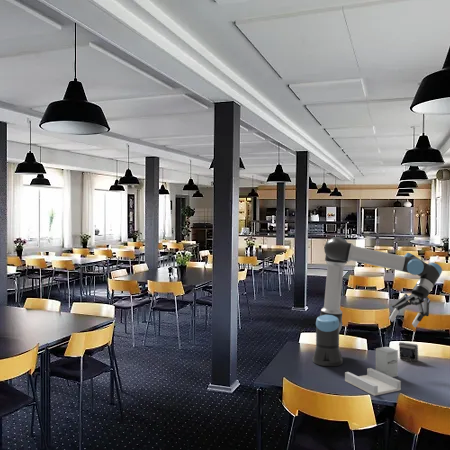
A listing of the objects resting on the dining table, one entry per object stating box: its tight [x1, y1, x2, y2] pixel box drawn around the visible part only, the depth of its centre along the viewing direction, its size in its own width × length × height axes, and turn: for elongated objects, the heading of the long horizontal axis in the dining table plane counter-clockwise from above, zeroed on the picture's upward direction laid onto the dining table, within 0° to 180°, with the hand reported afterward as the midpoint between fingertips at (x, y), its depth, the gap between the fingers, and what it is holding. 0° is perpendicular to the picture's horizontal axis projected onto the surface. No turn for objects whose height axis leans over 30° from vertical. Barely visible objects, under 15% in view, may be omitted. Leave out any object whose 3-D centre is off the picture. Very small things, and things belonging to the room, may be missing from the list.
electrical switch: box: [398, 341, 419, 363], centre depth 241 cm, size 9×5×9 cm, turn 57°
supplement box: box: [375, 346, 399, 378], centre depth 219 cm, size 7×7×13 cm
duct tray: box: [344, 367, 402, 397], centre depth 206 cm, size 19×15×4 cm
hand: (401, 322), depth 223 cm, fingers open, 13 cm apart
